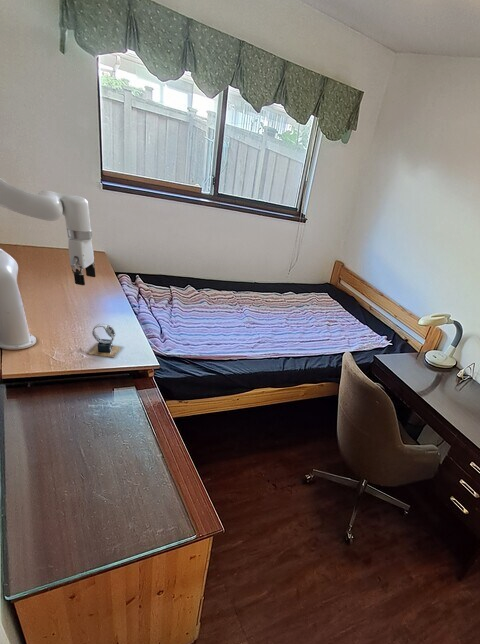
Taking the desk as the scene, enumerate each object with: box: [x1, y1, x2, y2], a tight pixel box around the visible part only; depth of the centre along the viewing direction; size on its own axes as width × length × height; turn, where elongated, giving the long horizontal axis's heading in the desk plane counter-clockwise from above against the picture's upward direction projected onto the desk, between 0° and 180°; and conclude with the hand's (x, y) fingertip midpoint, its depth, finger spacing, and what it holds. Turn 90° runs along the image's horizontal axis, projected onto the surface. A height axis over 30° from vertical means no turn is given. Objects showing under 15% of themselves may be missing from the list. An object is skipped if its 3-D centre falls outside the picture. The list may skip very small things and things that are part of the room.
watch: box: [91, 323, 116, 353], centre depth 155 cm, size 6×8×11 cm
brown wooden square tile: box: [87, 342, 122, 359], centre depth 157 cm, size 10×9×1 cm
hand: (85, 280), depth 147 cm, fingers open, 9 cm apart
